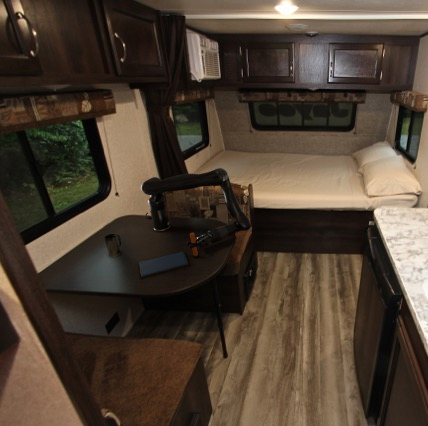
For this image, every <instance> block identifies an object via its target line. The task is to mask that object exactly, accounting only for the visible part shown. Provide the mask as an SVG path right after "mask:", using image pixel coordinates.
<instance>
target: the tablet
mask: <svg viewBox="0 0 428 426" xmlns="http://www.w3.org/2000/svg"><path fill="white" fill-rule="evenodd" d="M138 264H139V273H140V278H141V279H145V278H148V277H152V276H155V275H159V274H163V273H166V272H170V271H173V270H174V271H175V270H177V269H182V268H185V267H189V266H190V264H189V261H188V258H187V256H186V253H185V251H184V250H182V251H178V252H174V253H170V254H166V255H162V256H159V257H154V258H150V259H146V260H142V261H139V262H138Z"/></svg>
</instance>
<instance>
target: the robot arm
mask: <svg viewBox="0 0 428 426" xmlns="http://www.w3.org/2000/svg"><path fill="white" fill-rule="evenodd" d="M202 187H220V189H221V191H222V194H223V197H224V202H225V206H226V208H227V210H228V213H229V215H230V216H231V217H232V218H233V219H235V220H234V221H232V222H231V223H228V224H225V225H221V226H218V227H215V228H212V229H210V230H207V232H206V233H203V234H201V232H198V233H197V234H195V239H196V242H195V243H192V244H191V240H190V241H187V242H186V246H187V247H189V249H192V248H194V247H196V246H197V247H199V248H205V247H212V245H213V244H215V243H219V242H220V241H223V240H225V239H227V238H230V237H232V236H234V235H235V234H237V233H238V232H244V231H248V230H250V228H251V221H250V219H249V217H248V216H247V215H246V214H245V213H244V211H243V209H242V207H241V205H240V203H239V201H238V199H237V197H236V193H235V192H234V189H233V186H232V184H231V180H230V176H229V174H228V172H227V170H226V169H224V168H222V167H218V168H215V169H213V170H209V171H208V172H207V171H206V172H203V173H183V174H181V173H180V174H176V175H173V176H170V177H168V178H164V179H161V178H159V177H157V176H153V177H150V178H147V180H144V181H143V182H142V184H141V186H140V189H141V192H142V193H143V194H145V195H146V196H149V198H148V200H147V204H148V207H149V211H150V216H148V214H149V212H145V218H146V219H151V220H152V225H153V230H154V231H155V232H158V233H159V232H165V231H168V230H169V229H171V223H170V222H171V221H170V219H169V214H168V208H167V205H166V193H171V192H180V191H187V190H193V189H198V188H202Z"/></svg>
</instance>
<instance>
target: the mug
mask: <svg viewBox="0 0 428 426" xmlns="http://www.w3.org/2000/svg"><path fill="white" fill-rule="evenodd" d="M117 239H118V240H117ZM104 242H105V246H106V249H107V252H108V255H109V256H110V258H111V257H113V258H114V257H117V256H120V255H121V254H122V251H121V249H120V247H121V246H122V241H121V236H120V235H119V234H115V233H110V234H107V235H105V236H104Z"/></svg>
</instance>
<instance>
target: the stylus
mask: <svg viewBox="0 0 428 426" xmlns="http://www.w3.org/2000/svg"><path fill="white" fill-rule="evenodd" d="M195 236H196V233H195V232H190V233H189V238H190V241H191V244H192V243H195V242H196V239H195ZM191 250H192V256H193V258H199V251H198V246H196V247H194V248H191Z"/></svg>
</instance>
